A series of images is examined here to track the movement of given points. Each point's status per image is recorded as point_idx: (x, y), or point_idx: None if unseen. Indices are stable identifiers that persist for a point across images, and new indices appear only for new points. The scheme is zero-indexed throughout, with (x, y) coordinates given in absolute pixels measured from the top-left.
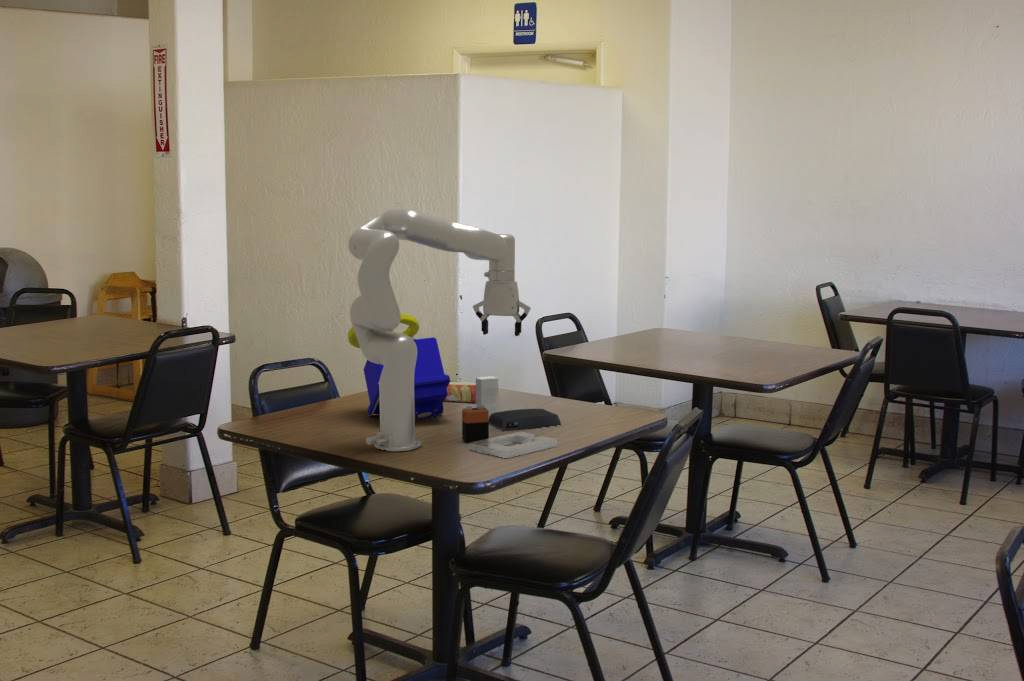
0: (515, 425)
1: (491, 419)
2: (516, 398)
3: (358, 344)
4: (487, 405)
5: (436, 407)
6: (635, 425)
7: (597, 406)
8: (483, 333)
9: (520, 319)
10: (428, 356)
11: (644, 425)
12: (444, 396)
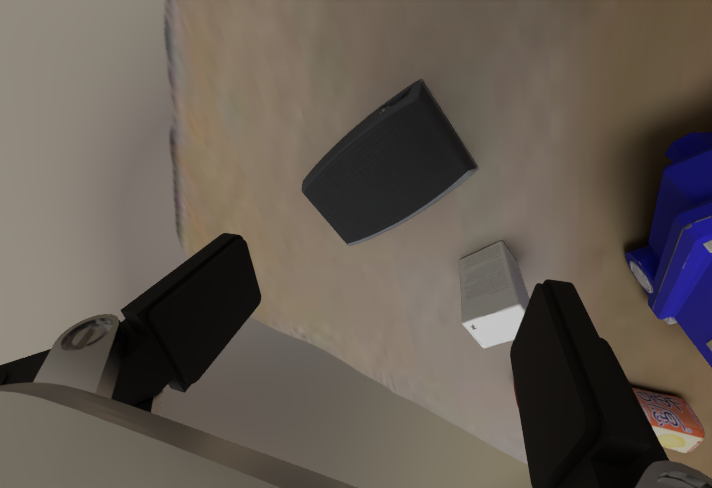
0: (386, 106)
1: (464, 155)
2: (443, 386)
3: None
4: (488, 261)
5: (694, 136)
6: (189, 203)
7: (298, 329)
8: (567, 285)
9: (61, 342)
10: None
11: (178, 205)
12: (676, 163)
